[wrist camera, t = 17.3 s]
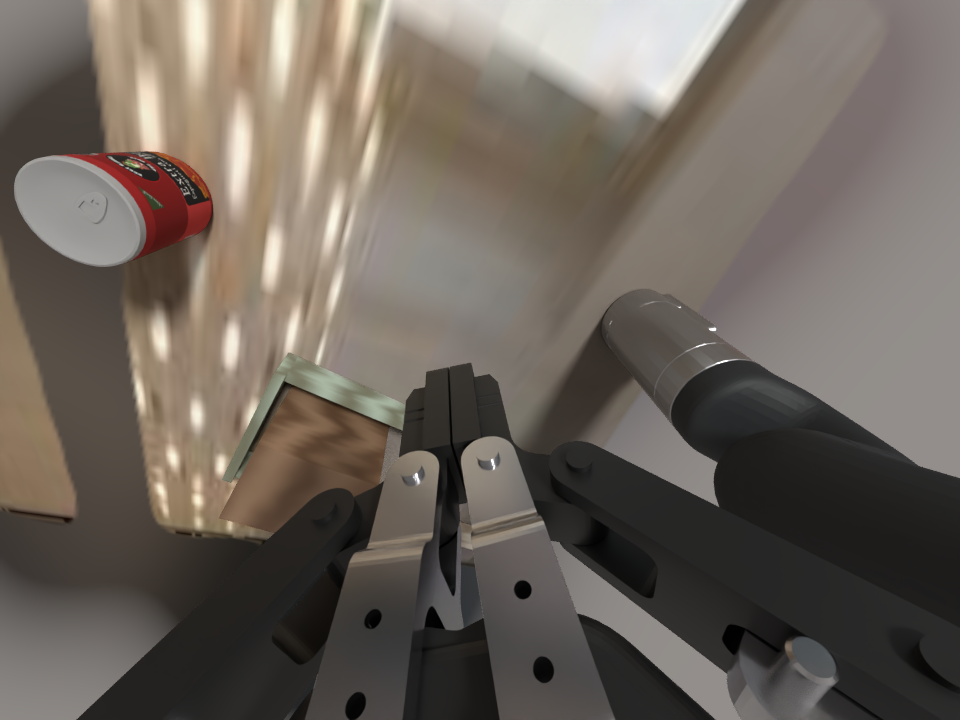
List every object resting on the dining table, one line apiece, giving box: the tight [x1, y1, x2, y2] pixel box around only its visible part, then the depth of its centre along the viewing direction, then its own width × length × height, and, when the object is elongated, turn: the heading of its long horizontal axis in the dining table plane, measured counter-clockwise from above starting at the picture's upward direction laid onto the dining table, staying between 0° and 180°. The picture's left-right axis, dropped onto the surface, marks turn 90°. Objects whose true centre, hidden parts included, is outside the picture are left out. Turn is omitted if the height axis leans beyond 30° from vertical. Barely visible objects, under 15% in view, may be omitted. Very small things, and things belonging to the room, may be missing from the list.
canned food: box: [14, 151, 213, 267], centre depth 31 cm, size 8×8×11 cm
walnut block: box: [219, 385, 389, 533], centre depth 49 cm, size 14×14×12 cm
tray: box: [222, 353, 473, 550], centre depth 56 cm, size 45×20×5 cm, turn 55°
